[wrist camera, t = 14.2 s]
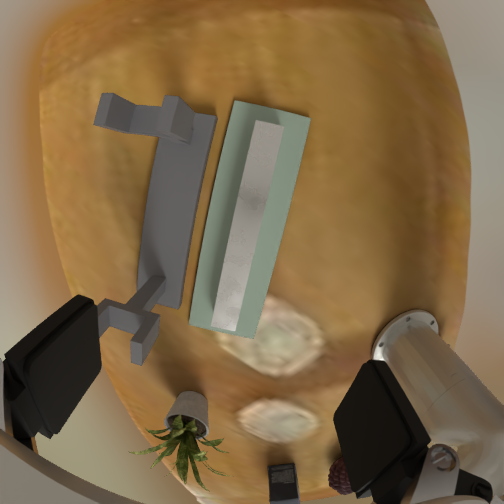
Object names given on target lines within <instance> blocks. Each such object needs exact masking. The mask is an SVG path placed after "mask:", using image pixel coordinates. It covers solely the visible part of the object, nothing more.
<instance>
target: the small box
mask: <svg viewBox="0 0 504 504" xmlns="http://www.w3.org/2000/svg"><path fill="white" fill-rule="evenodd" d="M268 477H269V494H270V495H269V498H270V499H269V502H270V504H300V494H299V486H298V479H297V473H296V468H295V464H294V463H290V464H282V465H273V466H268Z"/></svg>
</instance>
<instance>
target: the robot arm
mask: <svg viewBox="0 0 504 504" xmlns="http://www.w3.org/2000/svg"><path fill="white" fill-rule="evenodd" d="M4 355H5V358H6V359H5V360H4V361H3V362H2V360H1V358H0V504H143V503H140V502H137V501H134V500H131V499H128V498H126V497H123V496H120V495H118V494H115V493H112V492H110V491H108V490H105V489H103V488H100V487H98V486H96V485H94V484H92V483H89V482H87V481H85V480H83V479H81V478H79V477H77V476H75V475H73V474H71V473H69V472H67V471H66V470H64V469H62V468H60V467H58V466H57V465H55V464H53V463H51V462H49V461H48V460H46V459H44V458H43V457H41V456H40V455H38V450H37V446H36V441H35V435H36V434H37V432H40V433H41V434H42V435H44V436H46V437H47V438H49V439H51V437H52V436H53V434H58V433H59V432H60V430H61V429H62V427H63V426H64V424H65V422H66V421H67V419H68V418H69V417H70V415H71V413H72V412H73V410H74V409H75V407H76V406H77V404H78V403H79V401H80V400H81V399H82V397H83V396H84V394H85V393H86V391H87V389H88V388H89V387H90V385H91V384H92V382H93V381H94V380H95V378H96V377H97V375H98V374H99V372H100V370H101V366H102V362H101V353H100V342H99V327H98V308H97V305H95V304H94V301H93V300H92V299H90V298H88V297H85V296H82V295H76V296H75V297H73V298H72V299H71V300H70V301H68V302H67V303H66V304H64V305H63V306H62V307H61V308H59V309H58V310H57V311H56V312H54V313H53V314H52V315H50V316H49V317H48V318H47V319H46V320H44V321H43V322H42V323H41V324H39V325H38V326H37V327H36V328H34V329H33V330H32V331H31V332H30V333H28V334H27V335H26V336H25V337H24V338H23V339H21V340H20V341H19V342H18V343H17V344H16V345H14V346H13V347H12V348H11V349H10V350H9V351H8V352H7V353H5V354H4ZM371 358H372V359H371V360H369V361H367V363H364V364H363V365H362V367H361V369H360V370H359V372H358V374H357V376H356V378H355V380H354V381H353V383H352V385H351V387H350V388H349V390H348V392H347V393H346V395H345V397H344V398H343V400H342V402H341V403H340V405H339V407H338V408H337V410H336V411H335V413H334V417H333V421H334V425H335V429H336V432H337V436H338V440H339V443H340V447H341V451H342V455H343V459H344V462H345V466H346V470H347V474H348V478H349V482H350V486H351V490H352V491H353V492H355V493H356V497H357V499H359V498H364V497H370V496H371V495H372V497H373V501H372V503H371V504H504V405H503V404H502V403H501V402H500V401H499V400H498V399H497V398H496V397H495V396H494V395H493V394H492V392H491V391H490V390H489V389H488V388H487V387H486V386H485V385H484V384H483V383H482V381H481V380H480V379H479V378H478V377H477V376H476V375H475V374H474V372H473V371H472V370H471V369H470V368H469V367H468V366H467V365H466V364H465V363H464V361H463V360H462V359H461V358H460V357H459V356H458V355H457V354H456V353H455V352H454V351H453V350H452V349H451V348H450V345H449V344H447V343H446V342H445V341H444V340H443V339H442V338H441V337H440V336H439V335H438V324H437V321H436V319H435V318H434V317H433V316H432V315H431V314H430V313H429V312H427V311H425V310H420V309H418V310H411V311H407V312H405V313H403V314H401V315H399V316H397V317H396V318H394V319H393V320H392V321H391V322H389V323H388V324H387V325H386V326H385V327H384V329H383V330H382V331H381V332H380V334H379V335H378V337H377V339H376V341H375V342H374V345H373V348H372V354H371ZM430 442H433V443H435V445H432V447H430V448H428V447H427V445H428V444H429V443H430ZM450 446H454V447H457V448H458V450H457V452H456V451H455V450H454V449H452V448H451V447H450Z"/></svg>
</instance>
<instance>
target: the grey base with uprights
mask: <svg viewBox="0 0 504 504" xmlns="http://www.w3.org/2000/svg"><path fill="white" fill-rule="evenodd" d="M217 119H218V118H217V117H216V116H213V115H207V114H200V113H195V112H194V111H193V110H192V109H191V108H190V107H189V106H188V105H187V104H186V103H185V102H184V101H183V100H182V99H181V98H180V97H179V96H168V95H165V96H164V100H163V103H162V107H158V106H146V105H135V104H133V103H131V102H130V101H128V100H126V99H124V98H122V97H120V96H118V95H116V94H114V93H102V95H101V98H100V102H99V105H98V109H97V113H96V117H95V121H94V125H96V126H100V127H103V128H107V129H111V130H115V131H118V132H122V133H129V134H139V135H148V136H156V137H159V141H158V145H157V150H156V155H155V159H154V164H153V169H152V174H151V179H150V185H149V191H148V197H147V203H146V209H145V216H144V223H143V230H142V239H141V247H140V257H139V267H138V280H137V292H136V293H135V295H134V296H133V297H132V298H131V299H130V300H129V301H128V302H127V303H126V304H122V303H119V302H115V301H112V300H109V299H106V298H105V299H104V300H103V301H102V302H101V303H100V304H98V305H97V308H98V327H99V338H100V337H101V336H102V334H103V333H104V332H105V331H106V330H107V329H108V327H109V326H111V327H114V328H117V329H120V330H123V331H126V332H129V333H132V334H135V335H134V336H133V338H132V339H131V363H134V364H137V365H140V366H142V365H143V363H144V361H145V359H146V357H147V355H148V353H149V352H150V350H151V348H152V346H153V344H154V343H155V341H156V339H157V337H158V335H159V323H160V315H159V314H156V313H152V312H150V311H151V310H152V308H153V307H154V305H155V304H160V305H164V306H167V307H171V308H175V309H179V308H180V306H181V303H182V296H183V289H184V282H185V275H186V269H187V263H188V257H189V251H190V245H191V239H192V234H193V228H194V223H195V218H196V212H197V207H198V202H199V197H200V192H201V188H202V183H203V178H204V174H205V169H206V165H207V160H208V156H209V152H210V148H211V143H212V139H213V135H214V131H215V127H216V123H217Z"/></svg>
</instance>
